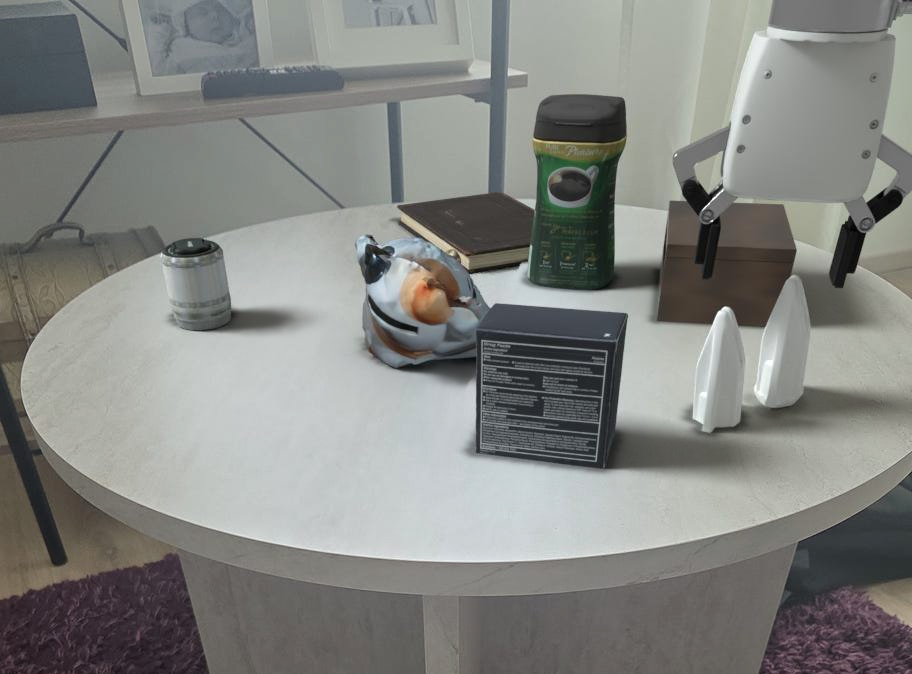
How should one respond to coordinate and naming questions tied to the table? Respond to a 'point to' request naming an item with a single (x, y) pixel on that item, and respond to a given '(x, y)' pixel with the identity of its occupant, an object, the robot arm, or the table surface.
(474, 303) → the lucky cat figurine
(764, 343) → the shaker set
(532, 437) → the small box
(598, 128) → the coffee jar
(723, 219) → the brown wooden box
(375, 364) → the table surface
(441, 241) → the hardcover book
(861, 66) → the robot arm
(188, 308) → the camera lens
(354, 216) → the table surface
